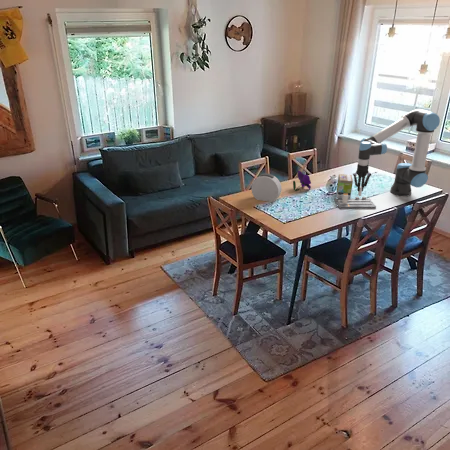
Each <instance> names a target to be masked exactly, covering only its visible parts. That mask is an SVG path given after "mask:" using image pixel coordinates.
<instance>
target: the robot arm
mask: <svg viewBox="0 0 450 450" xmlns="http://www.w3.org/2000/svg"><path fill="white" fill-rule="evenodd" d="M440 122H441V119H440V116H439V115H438V114H437V113H435V112H434V111H431V110H426V109H422V108H417V109H413V110H411V111H409V112H407V113H405V114H404V115H402V116H401V118H400V119H398V120H396V121H395V122H393V123H391V124H390V125H388V126H386V127H385V128H383V129H382V130H381V129H380V130H379V131H378V132H377V133H375V134H373V135H371V136H370V137H364V138H362V139H361V140H360V141H359V148H358V156H357V157H358V159H357V166H356V167H357V168H356V171H355V173H354V172H353V173H352V177H353V179H354V181H353V182H354V186H355V187H356V188H357V189H356V191H357V196H358V197H362V192H363V191H364V188H365V187H367V186H368V183H369V180H370V178H371V177H372V173H371V172H369V164H370V158H371V156H379V155H380V156H381V155H385V154H386V153H387V152H388V146H387V144H386V143H385V141H386V140H388V139H389V138H392V137H393V136H394V135H396V134H398V133H401V131H403V130H405V129H409V128H411V127H413V126H416V128H415V131H416V132H417V135H416V140H415V141H416V142H415V145H414V146H415V147H414V151H413V157H412V161H411V163H409V162H404V163H403V162H402V163H400V162H399V163H398V164H397V166H396V171H395V175H394V176H395V177H394V181H393V184H392V185H391V187H390V190H389V191H390V193H391V194H392V195H393V194H394V195H396V196H403V197H405V196H410V195H411V194H412V187H414V188H421V187H423V186H424V185H426V183H427V182H428V180H429V176H428V174H427V168H426V161H427V157H428V152H429V151H428V149H429V145H430V140H431V136H432V134H433V133H434V132H435V130H436V129H438V127H439V125H440ZM383 142H384V143H383ZM357 176H358V178H357Z"/></svg>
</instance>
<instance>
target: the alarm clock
mask: <svg viewBox="0 0 450 450" xmlns="http://www.w3.org/2000/svg"><path fill="white" fill-rule="evenodd" d="M282 189H283V188H282V184H281V182H280V180H279V179H278V178H277V177H276V176H275V175H273V174H271V173H261V174H260V175H259V176H258V177H256V178H255V180H254V181H253V183H252V184H251V193H252V196H253V197H254V199H255V200H257V201H264V202H269V203H273V202H274V203H275V201H276V200H277V199H278V198H279V197H280V195H281V193H282Z"/></svg>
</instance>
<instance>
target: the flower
mask: <svg viewBox="0 0 450 450" xmlns="http://www.w3.org/2000/svg"><path fill="white" fill-rule="evenodd" d="M297 178H298V180H299V183H300V185H299V187H302V188H305V187H307V189H308V190H309V191H310V190H311V188H312V186H311V184H312V182H311V179H310V176H309V175H308V174H304V173H303V172H302V171H301V170H298V171H297ZM292 182H293V183H292V187H293V191H295V192H297V191H300V189H299V188H296V185H297V184H296V181H295V180H293V181H292Z"/></svg>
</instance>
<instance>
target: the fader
mask: <svg viewBox="0 0 450 450" xmlns="http://www.w3.org/2000/svg"><path fill="white" fill-rule="evenodd" d="M347 201H348V194H343V199H342V202H343V203H347Z"/></svg>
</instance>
